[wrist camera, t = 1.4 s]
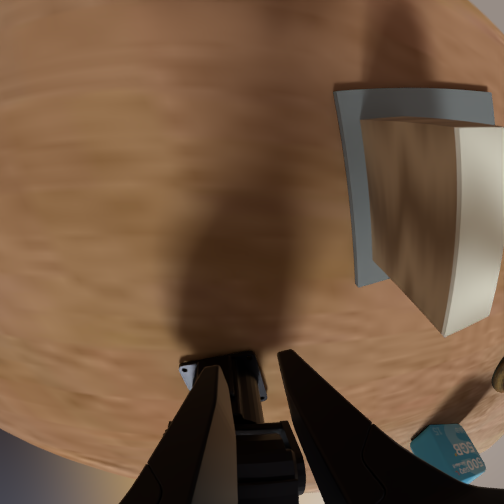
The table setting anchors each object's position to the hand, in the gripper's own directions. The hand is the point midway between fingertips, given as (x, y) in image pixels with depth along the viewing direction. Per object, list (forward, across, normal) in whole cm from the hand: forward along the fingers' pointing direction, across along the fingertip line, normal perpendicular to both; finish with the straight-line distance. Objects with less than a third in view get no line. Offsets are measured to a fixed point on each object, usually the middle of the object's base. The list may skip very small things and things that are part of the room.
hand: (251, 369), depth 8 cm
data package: (+13, -24, +42) cm, 50 cm away
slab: (+12, -11, 0) cm, 17 cm away
